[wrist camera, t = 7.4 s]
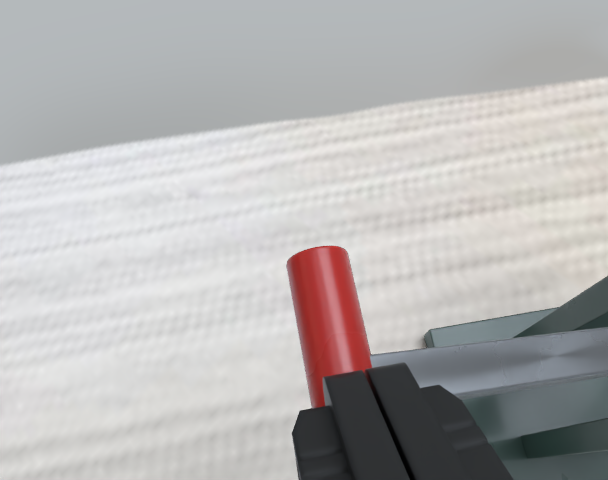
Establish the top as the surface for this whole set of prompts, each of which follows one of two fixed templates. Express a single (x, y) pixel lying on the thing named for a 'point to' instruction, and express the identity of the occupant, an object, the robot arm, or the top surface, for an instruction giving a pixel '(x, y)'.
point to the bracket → (543, 398)
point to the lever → (430, 361)
